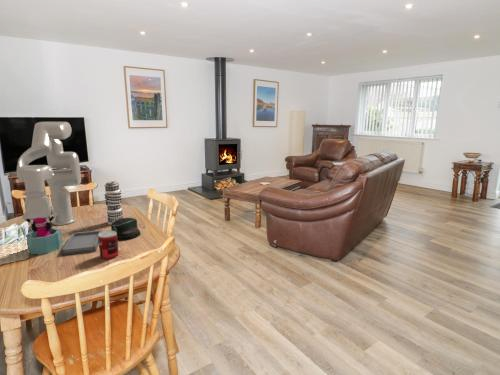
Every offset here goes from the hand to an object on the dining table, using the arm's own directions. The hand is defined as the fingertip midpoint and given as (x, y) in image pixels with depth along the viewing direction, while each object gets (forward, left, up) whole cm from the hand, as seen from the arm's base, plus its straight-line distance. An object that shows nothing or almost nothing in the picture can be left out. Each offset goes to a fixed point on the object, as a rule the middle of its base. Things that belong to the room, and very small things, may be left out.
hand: (42, 230), depth 147 cm
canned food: (+18, +31, -10) cm, 37 cm away
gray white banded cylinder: (-30, +29, -10) cm, 43 cm away
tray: (0, +17, -9) cm, 19 cm away
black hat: (-7, +36, -10) cm, 38 cm away
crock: (0, 0, -9) cm, 9 cm away
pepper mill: (0, 0, -10) cm, 10 cm away
